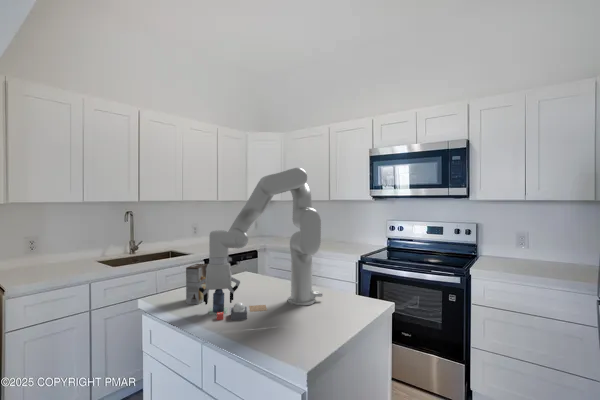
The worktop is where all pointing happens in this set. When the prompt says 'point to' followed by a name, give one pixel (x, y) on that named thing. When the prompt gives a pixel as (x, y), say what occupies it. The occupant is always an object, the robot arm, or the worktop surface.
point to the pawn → (218, 301)
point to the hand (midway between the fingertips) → (218, 302)
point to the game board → (238, 314)
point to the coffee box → (192, 278)
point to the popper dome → (238, 307)
